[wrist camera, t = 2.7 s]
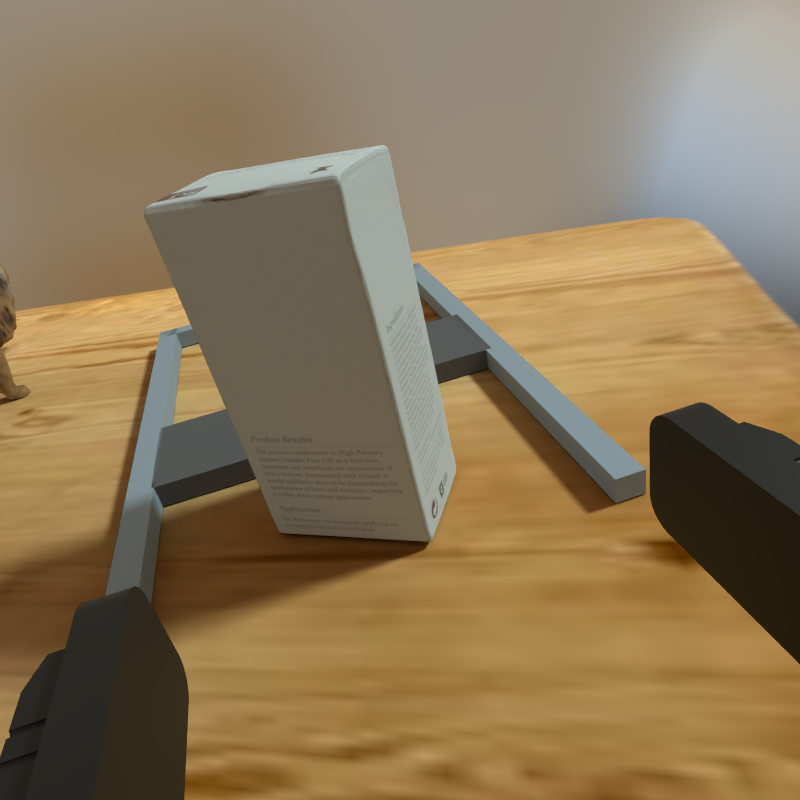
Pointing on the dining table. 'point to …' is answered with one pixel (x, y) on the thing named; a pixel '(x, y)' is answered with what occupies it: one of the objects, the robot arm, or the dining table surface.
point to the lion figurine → (7, 338)
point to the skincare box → (316, 339)
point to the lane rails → (522, 379)
